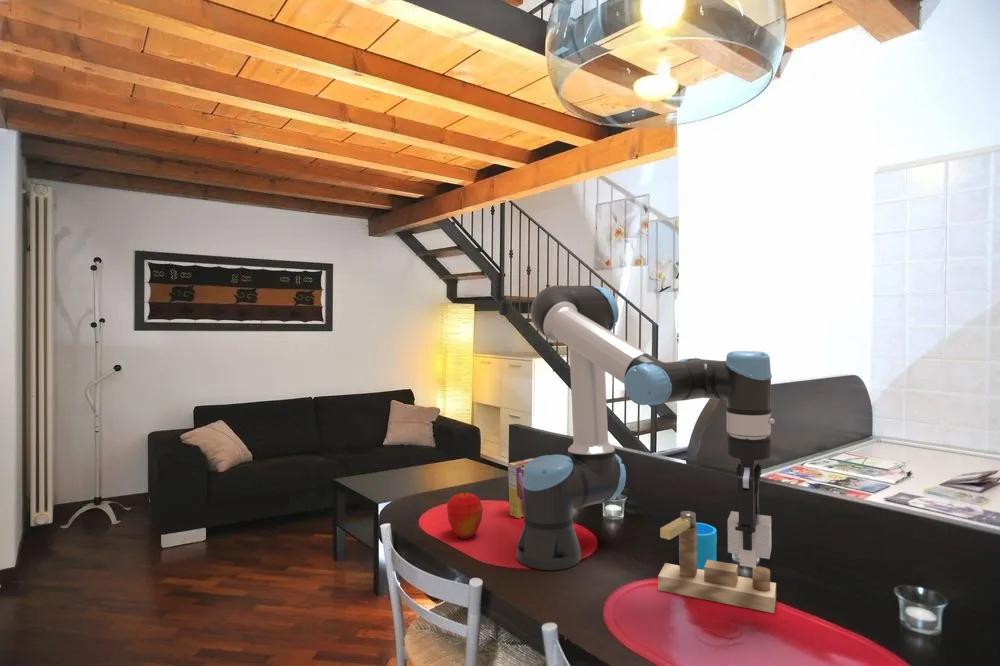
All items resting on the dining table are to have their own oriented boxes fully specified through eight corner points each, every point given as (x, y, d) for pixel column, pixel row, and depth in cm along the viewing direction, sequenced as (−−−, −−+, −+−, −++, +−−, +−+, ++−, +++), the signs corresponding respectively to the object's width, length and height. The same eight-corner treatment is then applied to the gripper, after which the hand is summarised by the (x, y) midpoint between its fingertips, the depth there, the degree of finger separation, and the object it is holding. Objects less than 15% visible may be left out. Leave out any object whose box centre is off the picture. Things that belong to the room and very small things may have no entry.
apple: (489, 535, 156) (489, 489, 155) (465, 545, 149) (464, 498, 149) (464, 527, 162) (464, 483, 161) (440, 536, 155) (439, 491, 155)
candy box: (532, 508, 176) (531, 457, 176) (541, 512, 173) (540, 460, 172) (508, 515, 171) (507, 462, 170) (517, 519, 167) (516, 465, 167)
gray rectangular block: (727, 552, 109) (727, 520, 109) (731, 542, 114) (731, 511, 114) (769, 559, 106) (769, 525, 106) (771, 548, 111) (771, 516, 111)
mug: (704, 574, 131) (704, 538, 130) (672, 563, 137) (672, 528, 137) (731, 559, 139) (731, 524, 138) (699, 549, 145) (699, 516, 144)
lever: (684, 521, 126) (684, 510, 126) (698, 524, 124) (698, 513, 124) (658, 536, 118) (657, 524, 118) (672, 540, 116) (671, 528, 116)
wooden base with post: (658, 590, 124) (657, 527, 123) (665, 576, 130) (665, 517, 130) (774, 613, 114) (774, 545, 113) (776, 597, 120) (776, 533, 119)
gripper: (767, 447, 99) (768, 583, 100) (773, 427, 116) (774, 545, 117) (720, 443, 103) (721, 575, 104) (732, 425, 119) (733, 539, 120)
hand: (749, 559), depth 110 cm, fingers closed on gray rectangular block, 5 cm apart
